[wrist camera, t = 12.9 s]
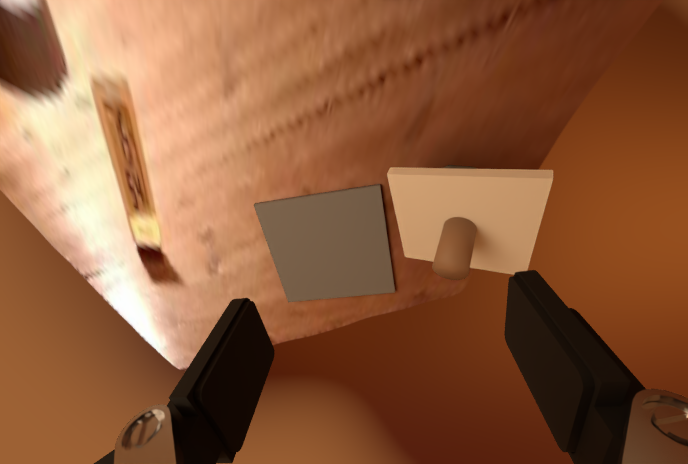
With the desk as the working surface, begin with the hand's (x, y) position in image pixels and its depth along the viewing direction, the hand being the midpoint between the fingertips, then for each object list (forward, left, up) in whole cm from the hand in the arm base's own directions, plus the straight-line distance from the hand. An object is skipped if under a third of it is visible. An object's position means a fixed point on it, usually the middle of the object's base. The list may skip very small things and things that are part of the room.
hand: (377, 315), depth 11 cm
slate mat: (+16, -10, -33) cm, 38 cm away
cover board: (+9, +9, -24) cm, 27 cm away
